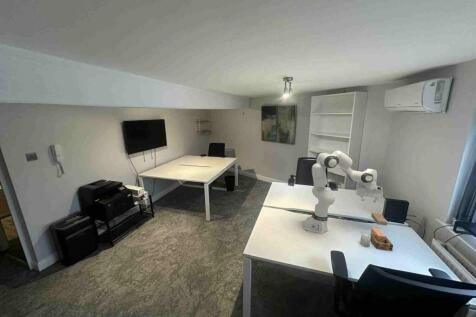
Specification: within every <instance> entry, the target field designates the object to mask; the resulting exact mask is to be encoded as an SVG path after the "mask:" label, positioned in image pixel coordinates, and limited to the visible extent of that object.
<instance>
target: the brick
mask: <svg viewBox="0 0 476 317" xmlns="http://www.w3.org/2000/svg"><path fill="white" fill-rule="evenodd" d="M371 218H372V219H373V220H374V222H375V223H376V224H377V225H380V226H385V225H386V226H387V225H388V220H387V219H386V218H385V217H384V215H383V214H382V213H380V212H371Z"/></svg>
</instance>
